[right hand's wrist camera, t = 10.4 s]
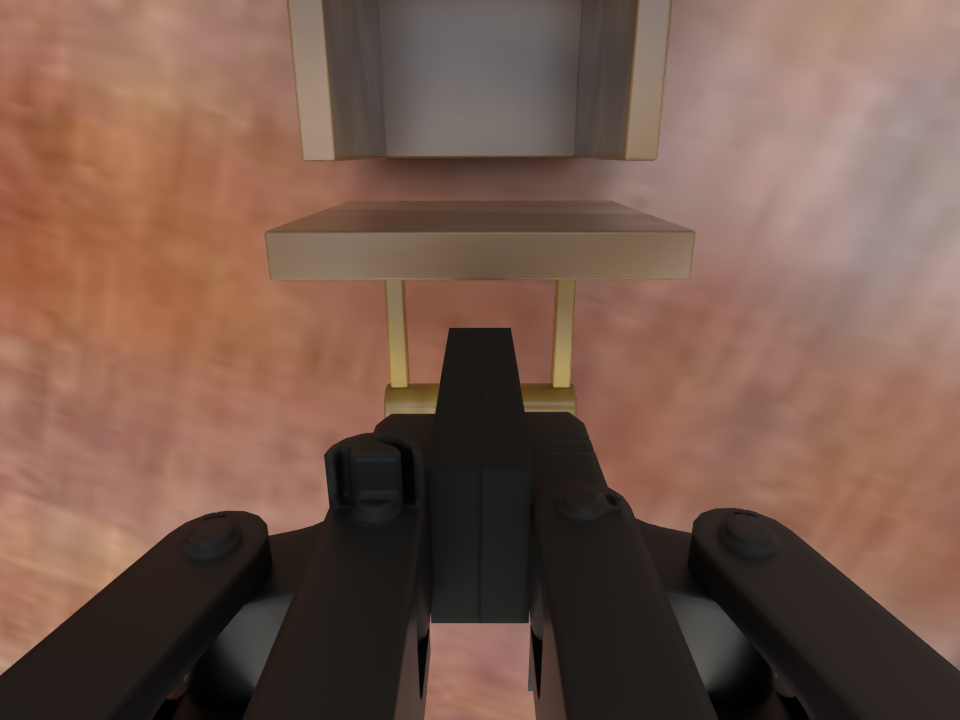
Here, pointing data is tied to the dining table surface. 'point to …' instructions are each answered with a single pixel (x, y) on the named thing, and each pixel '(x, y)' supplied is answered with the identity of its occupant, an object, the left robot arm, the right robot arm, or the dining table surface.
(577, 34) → the drawer
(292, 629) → the right robot arm
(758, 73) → the dining table surface
